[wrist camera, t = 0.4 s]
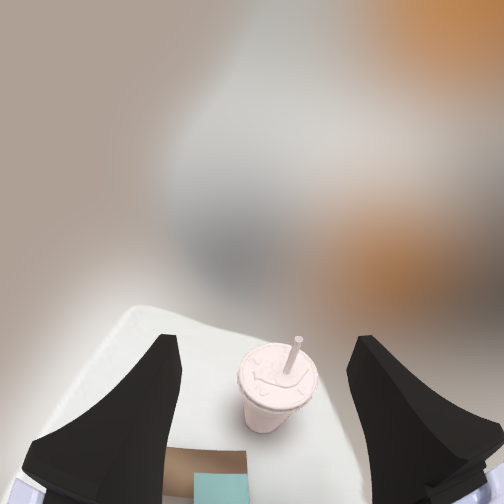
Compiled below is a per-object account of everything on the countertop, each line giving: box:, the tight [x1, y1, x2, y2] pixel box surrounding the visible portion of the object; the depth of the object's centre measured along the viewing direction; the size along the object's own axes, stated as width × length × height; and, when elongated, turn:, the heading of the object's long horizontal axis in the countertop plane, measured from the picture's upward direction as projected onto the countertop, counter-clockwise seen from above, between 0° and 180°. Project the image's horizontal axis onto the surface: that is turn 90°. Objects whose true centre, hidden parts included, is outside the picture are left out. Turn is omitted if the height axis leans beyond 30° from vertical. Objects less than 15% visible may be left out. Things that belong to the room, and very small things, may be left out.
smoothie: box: [237, 336, 318, 433], centre depth 22 cm, size 6×6×14 cm
